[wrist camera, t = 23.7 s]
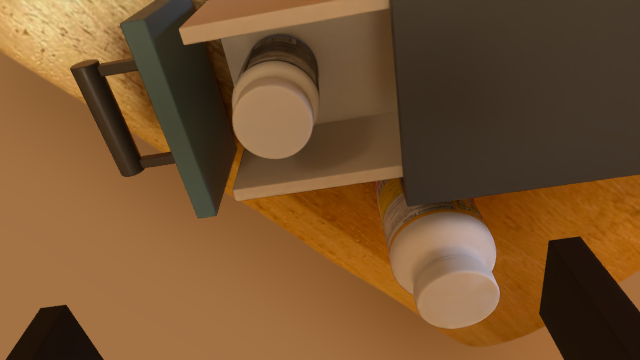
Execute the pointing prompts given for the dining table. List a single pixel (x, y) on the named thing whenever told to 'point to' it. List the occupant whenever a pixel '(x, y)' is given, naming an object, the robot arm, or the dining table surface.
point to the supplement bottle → (440, 256)
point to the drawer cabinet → (514, 94)
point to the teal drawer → (203, 93)
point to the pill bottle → (276, 97)
